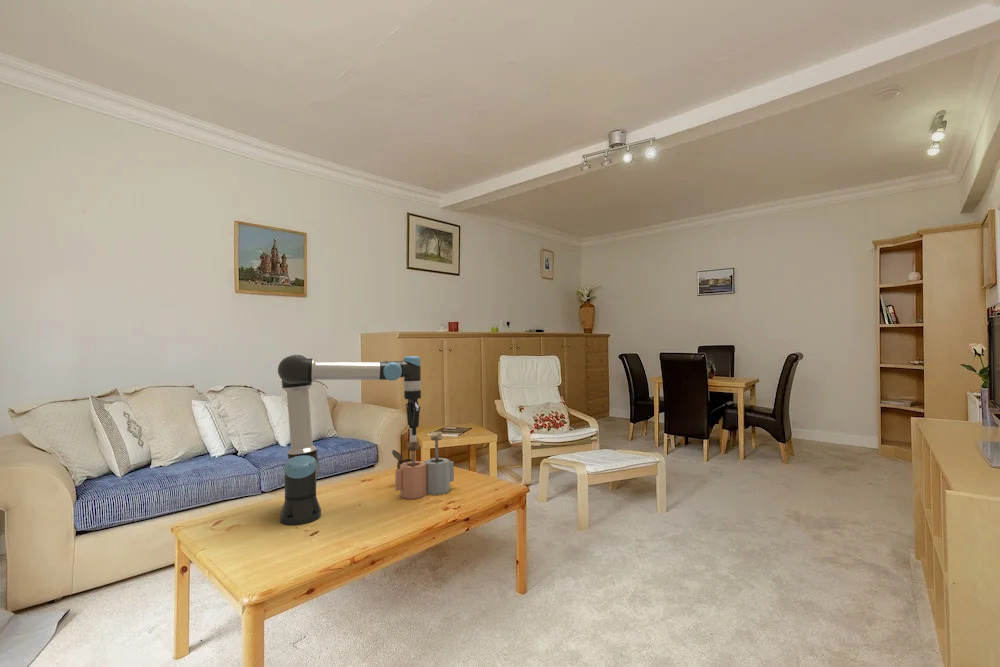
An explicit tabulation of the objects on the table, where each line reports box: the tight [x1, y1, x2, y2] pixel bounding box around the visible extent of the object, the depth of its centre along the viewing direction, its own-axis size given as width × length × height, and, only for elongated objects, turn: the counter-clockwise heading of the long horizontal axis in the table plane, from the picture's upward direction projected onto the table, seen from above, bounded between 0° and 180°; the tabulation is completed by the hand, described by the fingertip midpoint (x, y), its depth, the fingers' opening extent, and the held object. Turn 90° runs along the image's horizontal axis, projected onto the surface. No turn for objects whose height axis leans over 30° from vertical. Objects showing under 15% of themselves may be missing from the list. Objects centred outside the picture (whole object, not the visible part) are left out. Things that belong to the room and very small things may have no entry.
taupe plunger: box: [406, 441, 420, 466], centre depth 216 cm, size 5×5×16 cm
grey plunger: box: [430, 431, 443, 463], centre depth 222 cm, size 5×5×16 cm
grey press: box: [423, 457, 455, 496], centre depth 223 cm, size 14×11×14 cm
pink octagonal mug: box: [394, 460, 428, 500], centre depth 216 cm, size 14×11×14 cm
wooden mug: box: [391, 449, 412, 470], centre depth 234 cm, size 9×14×18 cm, turn 142°
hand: (413, 441), depth 217 cm, fingers closed
